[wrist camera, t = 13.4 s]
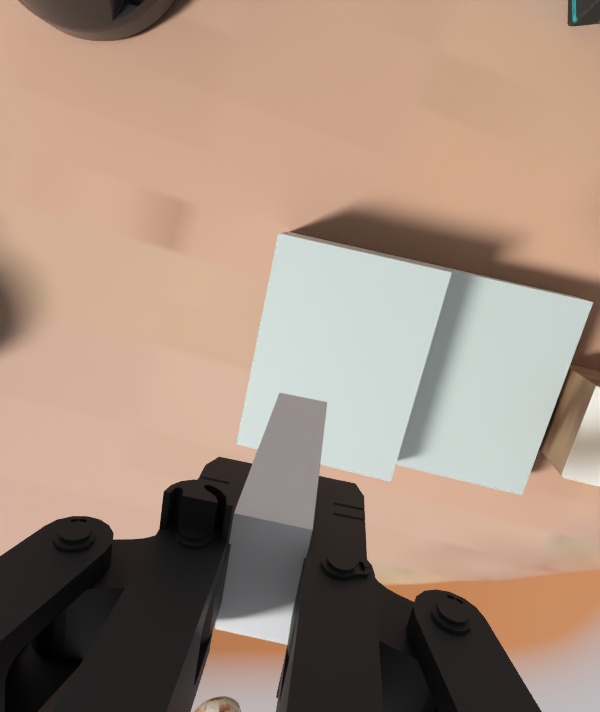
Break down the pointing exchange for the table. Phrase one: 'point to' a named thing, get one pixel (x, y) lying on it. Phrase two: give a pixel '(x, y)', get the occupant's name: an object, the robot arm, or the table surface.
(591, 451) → the cube
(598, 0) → the tampon box
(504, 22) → the table surface
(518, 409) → the steps
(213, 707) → the trinket box
